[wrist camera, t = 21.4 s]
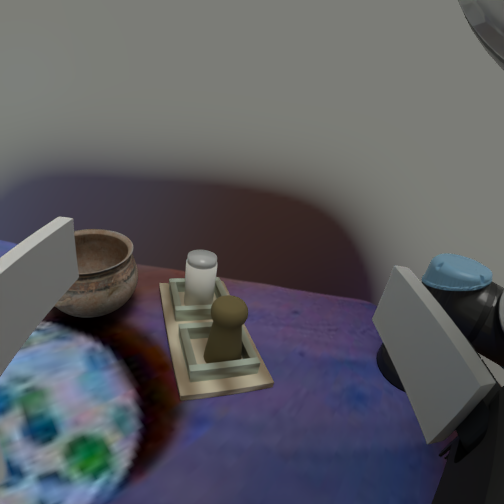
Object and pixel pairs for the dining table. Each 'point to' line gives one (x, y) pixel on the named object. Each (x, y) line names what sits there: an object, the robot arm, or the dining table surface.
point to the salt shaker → (200, 278)
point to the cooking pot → (100, 274)
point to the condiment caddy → (193, 346)
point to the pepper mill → (226, 329)
